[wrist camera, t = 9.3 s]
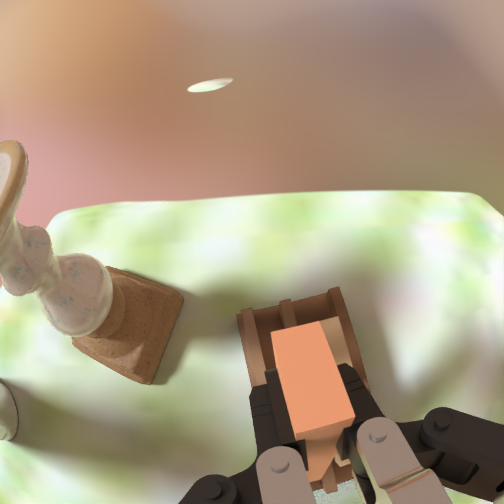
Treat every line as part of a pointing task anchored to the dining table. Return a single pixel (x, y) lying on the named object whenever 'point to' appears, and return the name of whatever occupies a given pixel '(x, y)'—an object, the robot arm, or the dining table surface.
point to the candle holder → (83, 288)
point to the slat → (312, 392)
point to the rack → (286, 316)
